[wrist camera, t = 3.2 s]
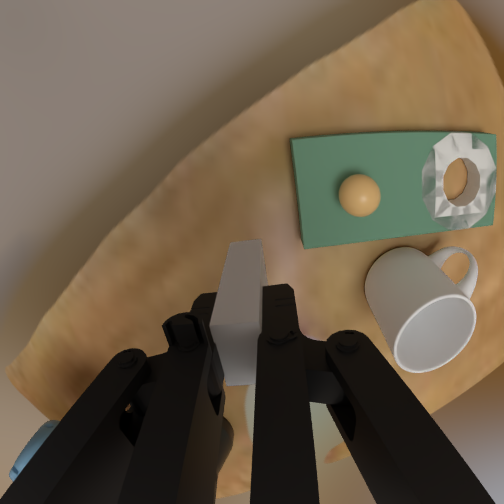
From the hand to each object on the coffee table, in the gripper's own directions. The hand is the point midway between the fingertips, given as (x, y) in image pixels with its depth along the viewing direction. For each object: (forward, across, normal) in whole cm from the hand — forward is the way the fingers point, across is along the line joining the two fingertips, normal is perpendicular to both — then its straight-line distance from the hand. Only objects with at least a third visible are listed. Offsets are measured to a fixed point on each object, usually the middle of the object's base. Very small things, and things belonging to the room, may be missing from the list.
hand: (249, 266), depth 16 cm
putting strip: (+16, +15, 0) cm, 22 cm away
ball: (+11, +9, 0) cm, 14 cm away
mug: (+16, +16, -10) cm, 25 cm away
